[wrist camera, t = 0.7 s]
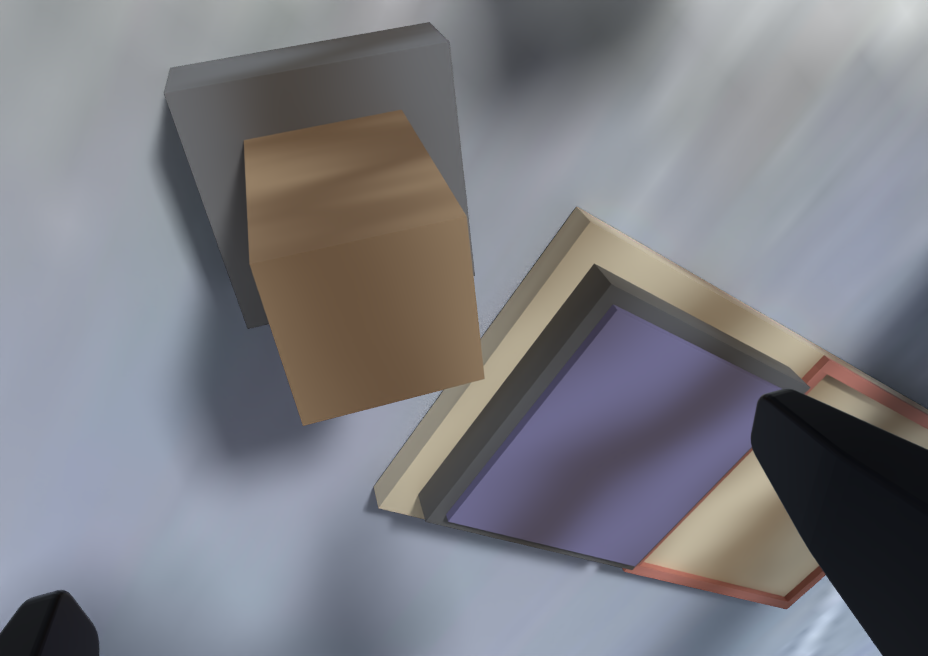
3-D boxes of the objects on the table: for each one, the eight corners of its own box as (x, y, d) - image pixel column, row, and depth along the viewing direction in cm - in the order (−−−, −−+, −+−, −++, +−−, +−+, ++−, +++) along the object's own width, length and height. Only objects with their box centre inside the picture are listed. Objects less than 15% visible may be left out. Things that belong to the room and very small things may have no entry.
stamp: (428, 21, 17) (536, 126, 11) (456, 241, 20) (548, 410, 15) (170, 66, 16) (135, 209, 10) (246, 288, 20) (253, 489, 14)
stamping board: (952, 423, 33) (998, 461, 31) (771, 587, 37) (801, 630, 35) (576, 206, 21) (613, 246, 19) (373, 486, 25) (386, 543, 23)
